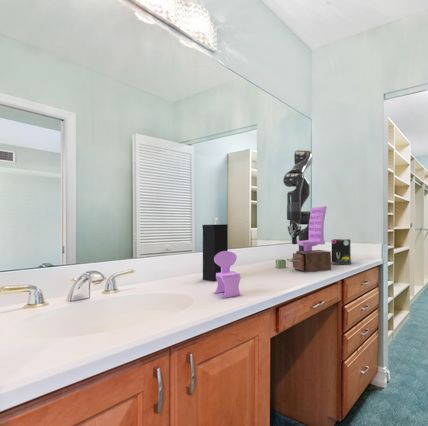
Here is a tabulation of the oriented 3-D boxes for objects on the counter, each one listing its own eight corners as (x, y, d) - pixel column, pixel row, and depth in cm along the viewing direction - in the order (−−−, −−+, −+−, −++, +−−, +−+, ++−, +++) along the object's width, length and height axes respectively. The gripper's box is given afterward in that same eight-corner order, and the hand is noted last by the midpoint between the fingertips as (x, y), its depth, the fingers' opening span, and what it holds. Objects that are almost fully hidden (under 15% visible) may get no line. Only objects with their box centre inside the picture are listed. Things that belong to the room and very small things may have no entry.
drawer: (293, 271, 139) (293, 255, 139) (285, 268, 149) (285, 253, 149) (325, 268, 146) (324, 253, 147) (315, 265, 157) (314, 251, 157)
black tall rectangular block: (228, 278, 128) (227, 217, 129) (214, 281, 121) (214, 217, 122) (216, 276, 132) (215, 217, 133) (202, 279, 125) (202, 217, 126)
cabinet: (306, 272, 141) (305, 253, 141) (296, 268, 152) (296, 251, 153) (331, 269, 147) (330, 251, 148) (319, 266, 159) (319, 249, 159)
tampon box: (331, 264, 167) (331, 239, 168) (333, 262, 176) (333, 239, 177) (349, 264, 165) (349, 239, 165) (351, 262, 174) (350, 239, 174)
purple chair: (291, 263, 171) (291, 207, 173) (315, 261, 180) (315, 207, 181) (303, 266, 158) (302, 205, 160) (328, 264, 167) (327, 206, 168)
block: (275, 267, 159) (275, 259, 159) (283, 266, 161) (283, 259, 161) (278, 268, 155) (278, 260, 155) (285, 267, 157) (285, 259, 157)
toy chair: (220, 298, 92) (220, 253, 93) (211, 293, 99) (211, 251, 100) (243, 294, 97) (243, 251, 98) (234, 290, 104) (233, 249, 105)
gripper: (305, 210, 142) (306, 244, 141) (295, 211, 154) (295, 243, 153) (292, 210, 139) (292, 245, 138) (282, 211, 151) (283, 243, 150)
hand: (294, 244), depth 146 cm, fingers closed
